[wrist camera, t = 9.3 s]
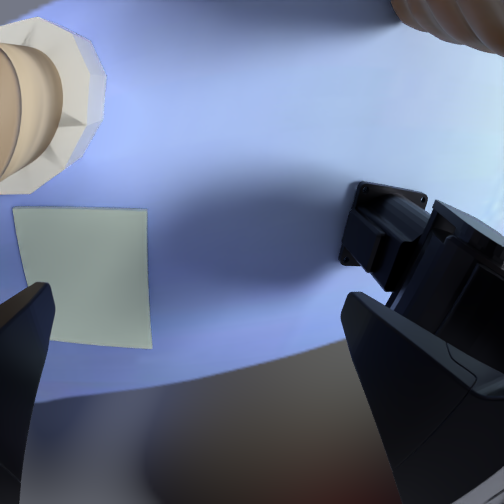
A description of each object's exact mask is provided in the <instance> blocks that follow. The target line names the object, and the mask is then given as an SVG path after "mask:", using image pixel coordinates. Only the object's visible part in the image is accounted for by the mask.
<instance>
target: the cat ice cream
mask: <svg viewBox="0 0 504 504" xmlns="http://www.w3.org/2000/svg"><path fill="white" fill-rule="evenodd" d="M391 4H392V7H393V9H394V11H395V13H396V14H397V16H398V17H399V19H400V20H401V21H402V22H403V23H404V24H406V25H408V26H409V27H412V28H414V29H416V30H419V31H423V32H429V33H430V34H432V35H434V36H435V37H437V38H439V39H440V40H443V41H446V42H449V43H454V44H459V45H467V46H469V47H472V48H474V49H477V50H480V51H483V52H487V53H493V54H498V55H500V56H502V57H504V0H391Z"/></svg>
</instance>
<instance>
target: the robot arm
mask: <svg viewBox="0 0 504 504" xmlns="http://www.w3.org/2000/svg"><path fill="white" fill-rule="evenodd" d="M364 187H366V190H365V191H364V192H363V188H364ZM422 197H423V198H422ZM421 198H422V200H421ZM427 201H428V197H427V195H426V194H424V193H422V192H418V191H413V190H408V189H403V188H398V187H392V186H387V185H382V184H376V183H370V182H361V183H360V184H359V185H358V187H357V191H356V195H355V199H354V202H353V206H352V209H351V211H350V212H349V216H348V220H347V224H346V227H345V231H344V234H343V238H342V247H341V250H340V253H339V257H338V260H339V262H340V263H341V264H342V265H344V266H362V268H363V269H364V270H365V271H366V272H367V273H370V274H371V275H372V276H373V278H374V279H375V280H376V281H377V282H378V284H379V285H380V286H381V287H382V289H383V290H384V291H386V292H392V294H391V296H390V298H389V300H388V301H387V303H386V305H383V304H381V303H380V302H378V301H376V300H375V299H373V298H371V297H369V296H368V295H366V294H364V293H363V292H350V293H349V294H348V295H347V298H346V300H345V303H344V306H343V309H342V311H341V322H342V325H343V329H344V333H345V336H346V340H347V343H348V347H349V351H350V354H351V358H352V361H353V363H354V366H355V369H356V371H357V374H358V377H359V379H360V382H361V385H362V387H363V390H364V392H365V395H366V398H367V401H368V403H369V406H370V409H371V411H372V414H373V417H374V419H375V422H376V425H377V428H378V431H379V434H380V436H381V439H382V442H383V445H384V448H385V451H386V454H387V457H388V460H389V463H390V466H391V469H392V471H393V476H394V479H395V482H396V485H397V488H398V491H399V494H400V497H401V501H402V504H504V237H503V236H502V235H501V234H500V233H499V232H497V231H496V230H494V229H493V228H491V227H490V226H488V225H486V224H485V223H483V222H482V221H480V220H479V219H477V218H475V217H473V216H471V215H469V214H467V213H465V212H463V211H461V210H458V209H456V208H454V207H452V206H450V205H448V204H445V203H443V202H441V201H439V200H436V199H435V202H434V204H433V206H432V208H433V211H432V213H431V214H429V213H428V212H427V211H425V207H426V204H427ZM345 257H347V258H346V259H345V260H343V259H344V258H345ZM55 311H56V307H55V302H54V298H53V294H52V290H51V286H50V284H49V283H48V282H35V283H33V284H32V285H30V286H29V287H27V288H25V289H24V290H22V291H21V292H19V293H18V294H16V295H14V296H13V297H11V298H10V299H8V300H7V301H5V302H4V303H2V304H1V305H0V504H19V500H20V488H21V483H20V482H21V476H22V468H23V461H24V454H25V447H26V441H27V436H28V430H29V425H30V420H31V415H32V411H33V406H34V402H35V398H36V393H37V389H38V385H39V382H40V378H41V374H42V370H43V367H44V363H45V359H46V356H47V351H48V346H49V341H50V335H51V331H52V326H53V321H54V317H55Z"/></svg>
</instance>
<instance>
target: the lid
mask: <svg viewBox="0 0 504 504" xmlns="http://www.w3.org/2000/svg"><path fill="white" fill-rule="evenodd" d="M62 107H63V90H62V83H61V79H60V76H59V73H58V70H57V68H56V66H55V65H54V63H53V62H52V60H51V59H50V58H49V57H48V56H47V55H46V54H45V53H43V52H42V51H40V50H38V49H36V48H33V47H28V46H22V45H15V44H7V43H0V182H1V181H3V180H4V179H6V178H7V177H9V176H11V175H12V174H14V173H16V172H17V171H19V170H20V169H22V168H24V167H25V166H27V165H29V164H30V163H32V162H33V161H35V160H36V159H37V158H38V157H39V156H41V154H42V153H43V152H44V151H45V150H46V148H47V147H48V146H49V144H50V143H51V141H52V139H53V137H54V135H55V133H56V131H57V128H58V125H59V122H60V118H61V114H62Z"/></svg>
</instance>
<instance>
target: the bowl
mask: <svg viewBox="0 0 504 504" xmlns="http://www.w3.org/2000/svg"><path fill="white" fill-rule="evenodd" d="M0 43H7V44H15V45H22V46H28V47H33V48H36V49H38V50H40V51H42V52H43V53H45V54H46V55H47V56H48V57H49V58H50V59H51V60H52V62H53V63H54V65H55V66H56V68H57V70H58V73H59V76H60V79H61V83H62V90H63V107H62V114H61V118H60V122H59V125H58V128H57V131H56V133H55V135H54V137H53V139H52V141H51V143H50V144H49V146H48V147H47V148H46V150H45V151H44V152H43V153H42V154H41V156H39V157H38V158H37V159H36V160H35V161H33V162H32V163H30V164H29V165H27V166H25V167H24V168H22V169H20V170H19V171H17V172H16V173H14V174H12V175H11V176H9V177H7V178H6V179H4V180H3V181H1V182H0V195H6V194H31V193H33V192H34V191H35V190H37V189H38V188H39V187H41V186H42V185H43V184H45V183H46V182H47V181H49V180H50V179H52V178H53V177H54V176H56V175H57V174H59V173H60V172H62V171H63V170H65V169H66V168H67V167H69V166H70V165H72V164H73V163H74V162H76V161H77V160H79V159H80V158H82V157H83V155H84V153H85V151H86V149H87V147H88V146H89V144H90V142H91V140H92V138H93V137H94V135H95V133H96V131H97V130H98V128H99V126H100V124H101V123H102V121H103V119H104V103H105V91H106V80H107V75H106V73H105V71H104V69H103V67H102V65H101V62H100V60H99V58H98V56H97V54H96V52H95V49H94V47H93V45H92V43H91V41H90V40H88V39H86V38H84V37H82V36H80V35H79V34H77V33H75V32H73V31H71V30H69V29H67V28H65V27H63V26H61V25H59V24H56V23H53V22H51V21H48V20H45V19H43V18H40V17H35V18H30V19H26V20H22V21H18V22H14V23H10V24H6V25H3V26H0Z"/></svg>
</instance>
